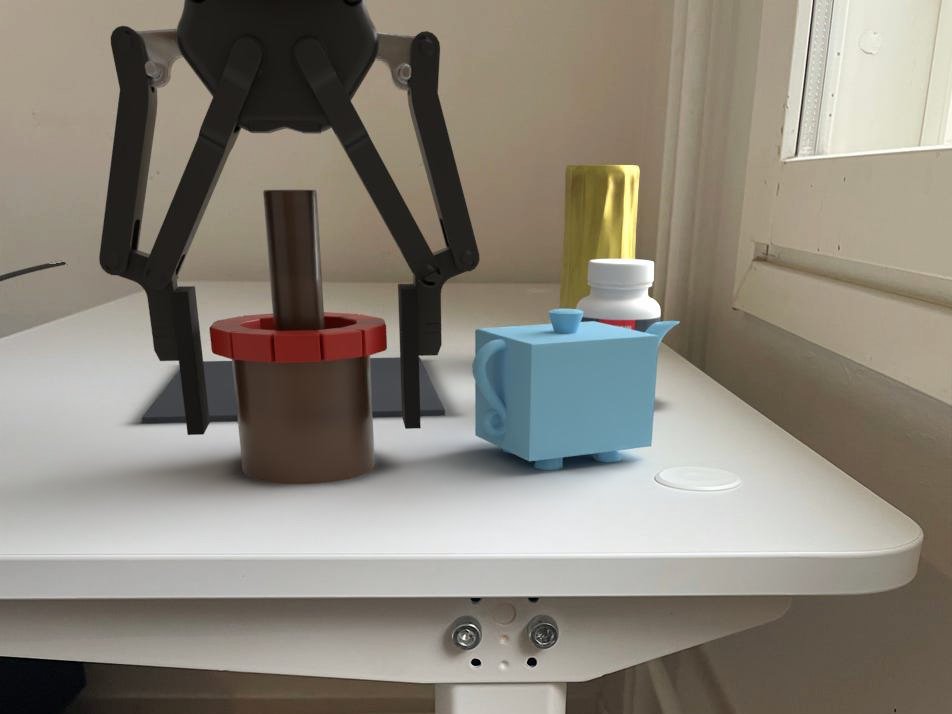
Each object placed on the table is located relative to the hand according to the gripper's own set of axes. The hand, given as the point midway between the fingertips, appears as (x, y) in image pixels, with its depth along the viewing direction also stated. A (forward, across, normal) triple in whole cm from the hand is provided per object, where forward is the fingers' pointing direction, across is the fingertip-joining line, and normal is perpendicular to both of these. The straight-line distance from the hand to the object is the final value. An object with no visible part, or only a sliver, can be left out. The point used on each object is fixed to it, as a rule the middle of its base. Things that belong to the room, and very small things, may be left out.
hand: (306, 425), depth 51 cm
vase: (+2, +21, +27) cm, 34 cm away
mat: (+2, -1, +21) cm, 21 cm away
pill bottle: (+2, +19, +13) cm, 23 cm away
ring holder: (+2, 0, 0) cm, 2 cm away
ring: (-4, 0, 0) cm, 4 cm away
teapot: (+2, +14, +1) cm, 14 cm away
